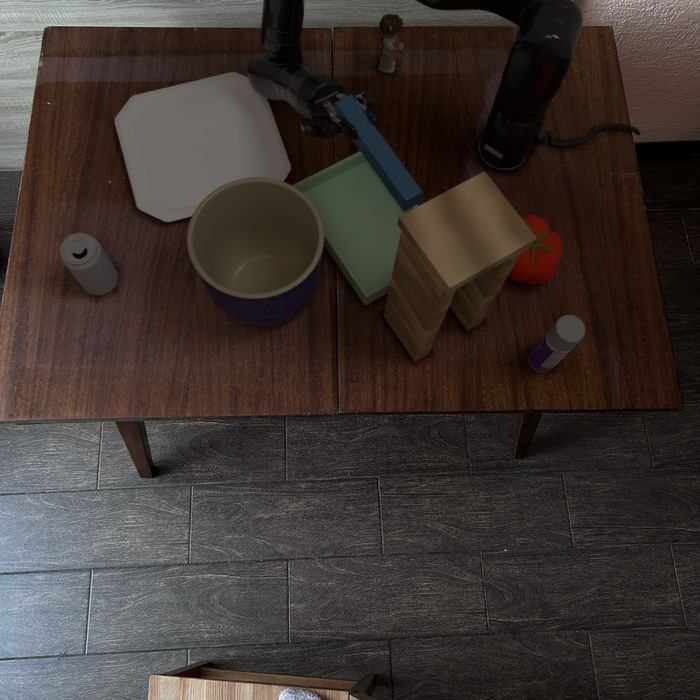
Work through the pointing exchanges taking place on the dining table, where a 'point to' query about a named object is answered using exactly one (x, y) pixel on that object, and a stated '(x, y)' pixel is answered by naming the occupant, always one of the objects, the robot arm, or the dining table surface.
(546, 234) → the tomato
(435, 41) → the dining table surface
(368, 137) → the bar
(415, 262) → the shelf
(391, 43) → the toy
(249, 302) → the planter
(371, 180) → the tray
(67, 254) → the beverage can
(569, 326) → the container
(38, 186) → the dining table surface
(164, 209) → the plate
